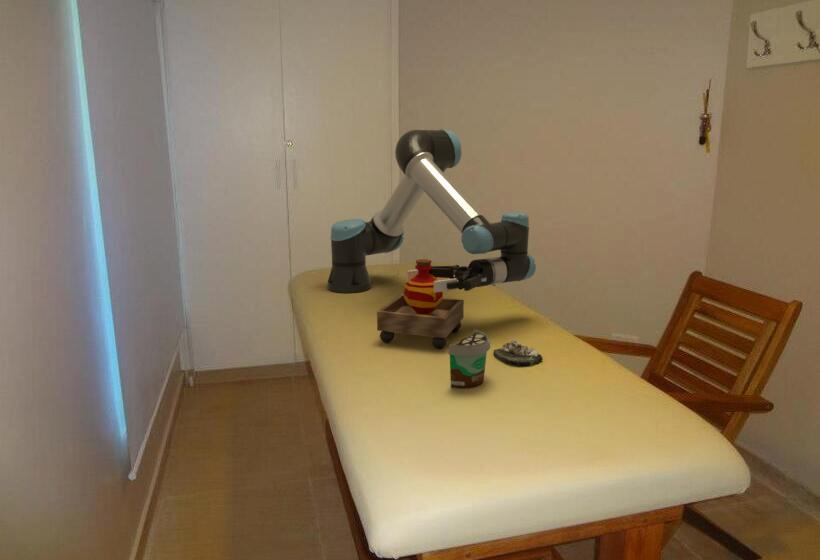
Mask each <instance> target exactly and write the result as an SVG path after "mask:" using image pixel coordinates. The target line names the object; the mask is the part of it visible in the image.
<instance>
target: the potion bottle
mask: <svg viewBox="0 0 820 560" xmlns="http://www.w3.org/2000/svg"><path fill="white" fill-rule="evenodd" d="M415 263H416V265H415V266H414V269H415V270H418V274H417V275H415V277H413V278H411V279H409V280H408V281H407V280H406V282H404V285H403V287H404V291H403V292H402V294H403V295H404V299H405V301H406V302H407V303H408V304H409V306H410V307H411V308H412V309H413V310H414V311H415V312H416V313H415V314H417V315H426V316H432V314H431V313H432V312H433V311H434V310H436V309H437V307H438V305H439V303H440V302H441V301H442V298H444V296H443V295H444V293H443V292H444V291H443V292H436V293H435V292H434V281H439V279H438V278H436V277H434V276H432V275H431V274H429V270H430V269H432V266H433V265H432V264H431V263H432V260H431V259H426V258H425V259H417V260H415ZM430 275H431V276H430Z"/></svg>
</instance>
